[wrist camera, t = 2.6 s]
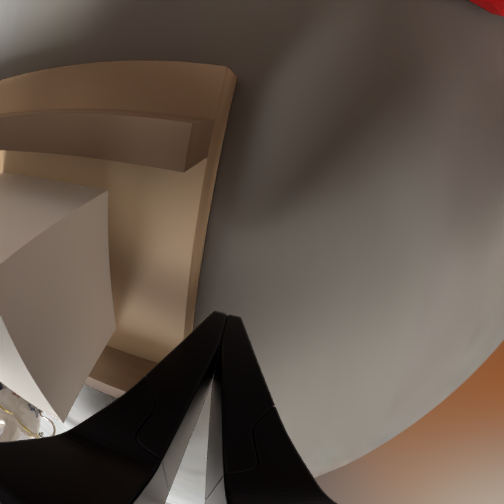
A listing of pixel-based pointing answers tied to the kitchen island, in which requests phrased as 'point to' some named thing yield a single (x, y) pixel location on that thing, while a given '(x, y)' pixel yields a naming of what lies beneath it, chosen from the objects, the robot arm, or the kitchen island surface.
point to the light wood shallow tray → (130, 183)
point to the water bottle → (491, 6)
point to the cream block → (52, 288)
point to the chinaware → (18, 416)
